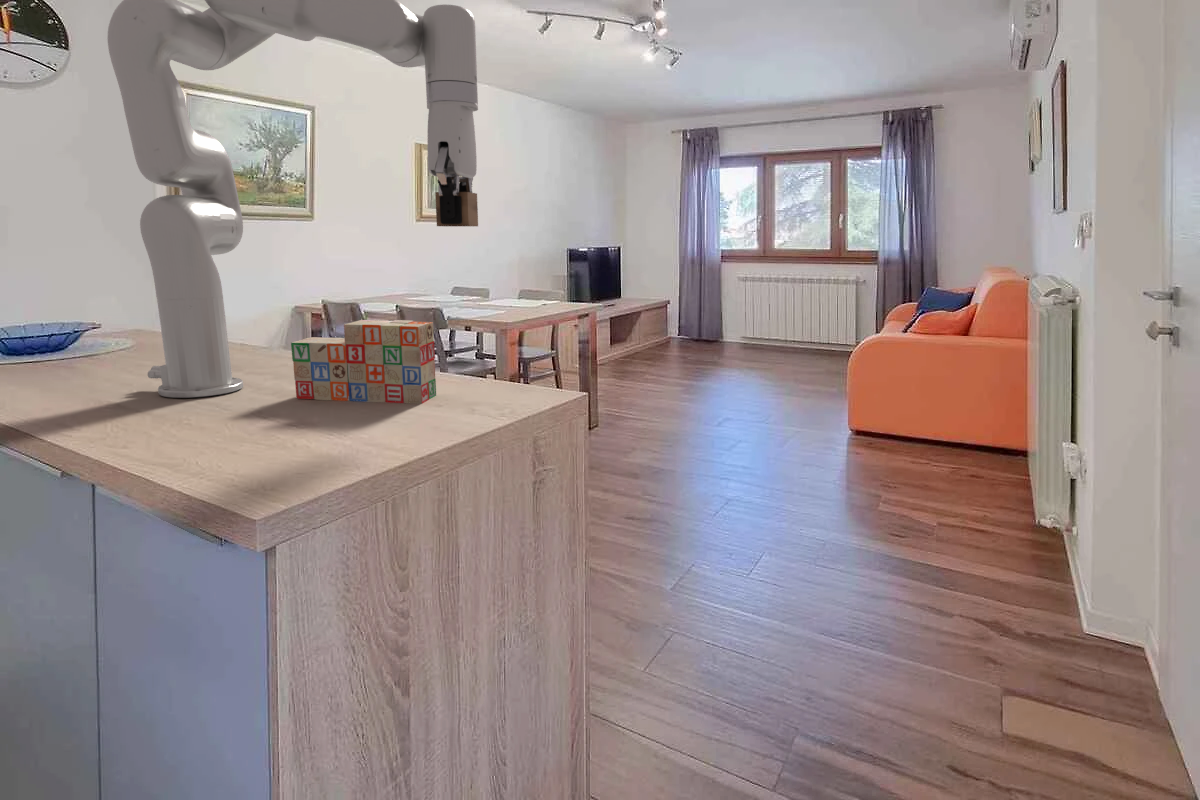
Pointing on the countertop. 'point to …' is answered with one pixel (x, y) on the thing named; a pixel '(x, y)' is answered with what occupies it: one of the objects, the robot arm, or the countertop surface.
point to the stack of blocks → (368, 363)
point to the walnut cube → (467, 209)
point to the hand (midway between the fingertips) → (457, 222)
